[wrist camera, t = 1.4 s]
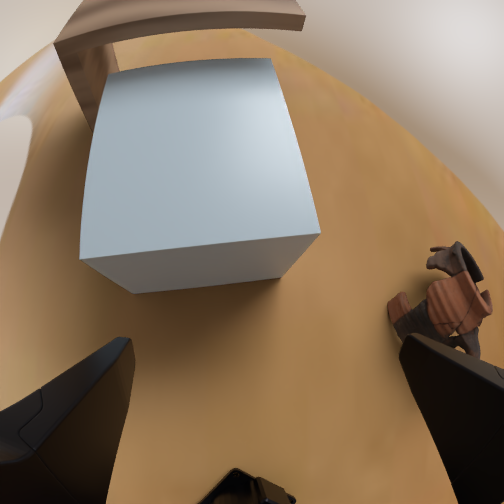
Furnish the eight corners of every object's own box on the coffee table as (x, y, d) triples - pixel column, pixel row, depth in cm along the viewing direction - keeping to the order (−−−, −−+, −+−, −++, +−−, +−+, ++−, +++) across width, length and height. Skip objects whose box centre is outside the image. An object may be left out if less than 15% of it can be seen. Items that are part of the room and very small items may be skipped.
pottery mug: (368, 274, 25) (439, 222, 20) (414, 281, 30) (469, 242, 25) (408, 401, 19) (497, 365, 14) (446, 378, 24) (512, 347, 18)
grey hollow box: (281, 277, 24) (320, 232, 14) (133, 293, 22) (79, 259, 13) (255, 137, 28) (270, 58, 18) (134, 150, 26) (108, 74, 17)
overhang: (278, 151, 28) (315, 30, 14) (99, 170, 25) (42, 61, 12) (259, 78, 31) (278, -23, 18) (113, 93, 28) (85, -3, 15)
